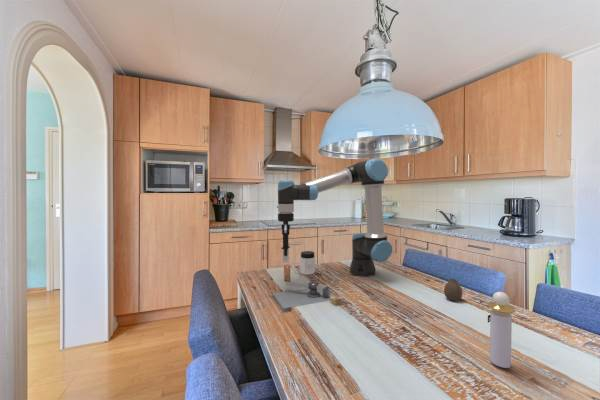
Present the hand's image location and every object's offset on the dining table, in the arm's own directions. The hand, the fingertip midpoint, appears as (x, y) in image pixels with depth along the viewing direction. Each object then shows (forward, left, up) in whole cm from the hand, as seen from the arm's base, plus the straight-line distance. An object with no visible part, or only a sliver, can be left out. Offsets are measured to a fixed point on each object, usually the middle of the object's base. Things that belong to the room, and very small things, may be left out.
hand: (285, 262), depth 124 cm
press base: (-5, +12, -14) cm, 19 cm away
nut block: (-14, +22, -12) cm, 29 cm away
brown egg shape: (-65, +36, -15) cm, 76 cm away
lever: (-6, +10, -12) cm, 17 cm away
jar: (-21, -24, -15) cm, 35 cm away
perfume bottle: (-38, +72, -15) cm, 83 cm away
